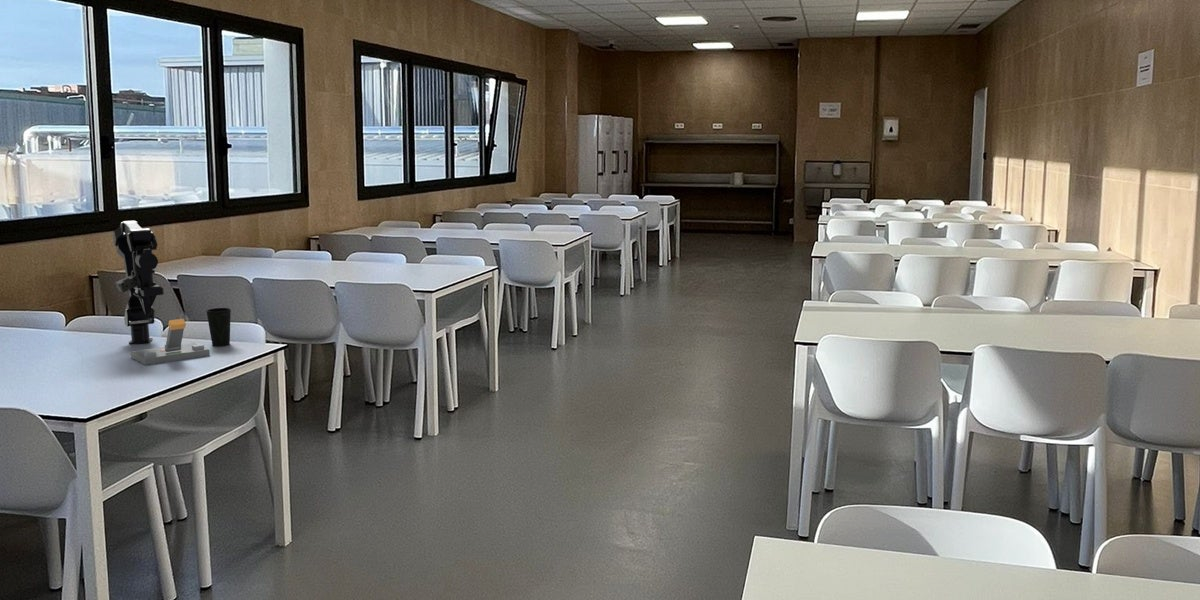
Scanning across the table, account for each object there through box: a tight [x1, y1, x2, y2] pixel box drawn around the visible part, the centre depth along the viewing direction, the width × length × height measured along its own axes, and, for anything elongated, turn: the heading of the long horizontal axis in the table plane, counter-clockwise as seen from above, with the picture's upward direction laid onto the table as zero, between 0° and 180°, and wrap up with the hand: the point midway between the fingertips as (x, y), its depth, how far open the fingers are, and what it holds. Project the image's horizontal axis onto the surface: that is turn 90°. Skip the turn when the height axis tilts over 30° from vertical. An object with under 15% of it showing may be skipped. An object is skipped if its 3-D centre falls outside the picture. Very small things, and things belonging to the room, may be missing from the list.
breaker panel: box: [130, 342, 211, 366], centre depth 333 cm, size 14×20×3 cm
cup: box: [206, 307, 232, 348], centre depth 349 cm, size 8×8×12 cm
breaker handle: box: [164, 318, 187, 352], centre depth 328 cm, size 2×4×12 cm
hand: (146, 314), depth 341 cm, fingers closed
